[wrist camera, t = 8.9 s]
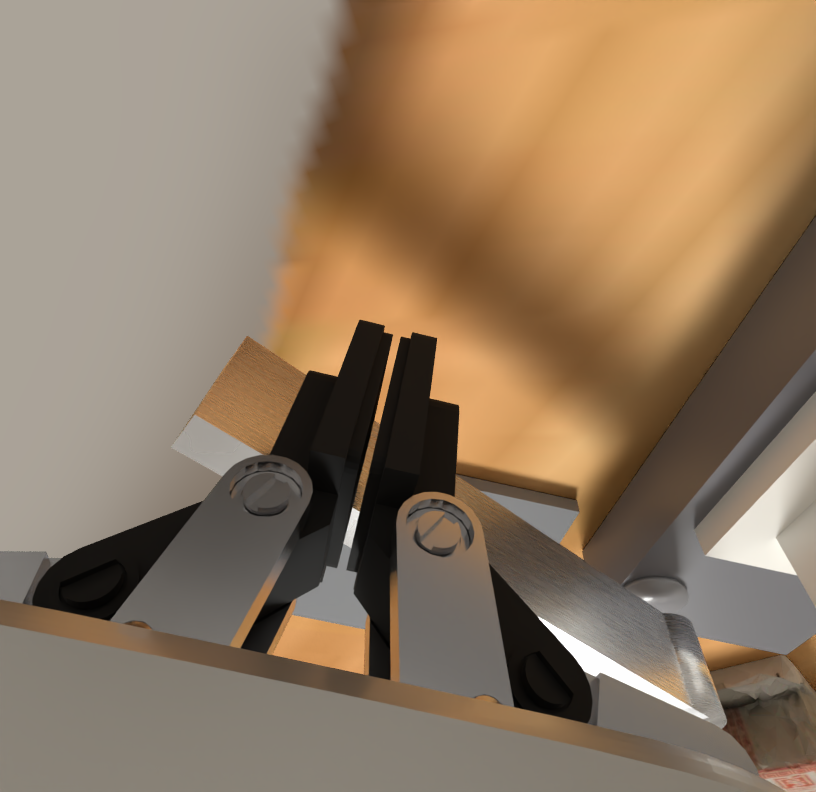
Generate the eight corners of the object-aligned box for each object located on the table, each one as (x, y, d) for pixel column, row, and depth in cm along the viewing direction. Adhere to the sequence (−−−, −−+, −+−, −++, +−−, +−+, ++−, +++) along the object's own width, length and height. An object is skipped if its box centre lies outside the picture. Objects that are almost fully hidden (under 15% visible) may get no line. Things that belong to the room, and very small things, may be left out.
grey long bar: (218, 376, 13) (163, 457, 11) (255, 324, 12) (203, 402, 10) (654, 649, 19) (681, 741, 17) (705, 629, 18) (741, 725, 16)
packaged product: (834, 751, 23) (897, 820, 27) (781, 641, 26) (843, 716, 30) (493, 803, 31) (581, 849, 35) (490, 714, 35) (570, 765, 39)
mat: (308, 442, 20) (304, 452, 20) (576, 500, 21) (579, 512, 20) (288, 602, 28) (285, 613, 27) (488, 643, 28) (488, 654, 28)
